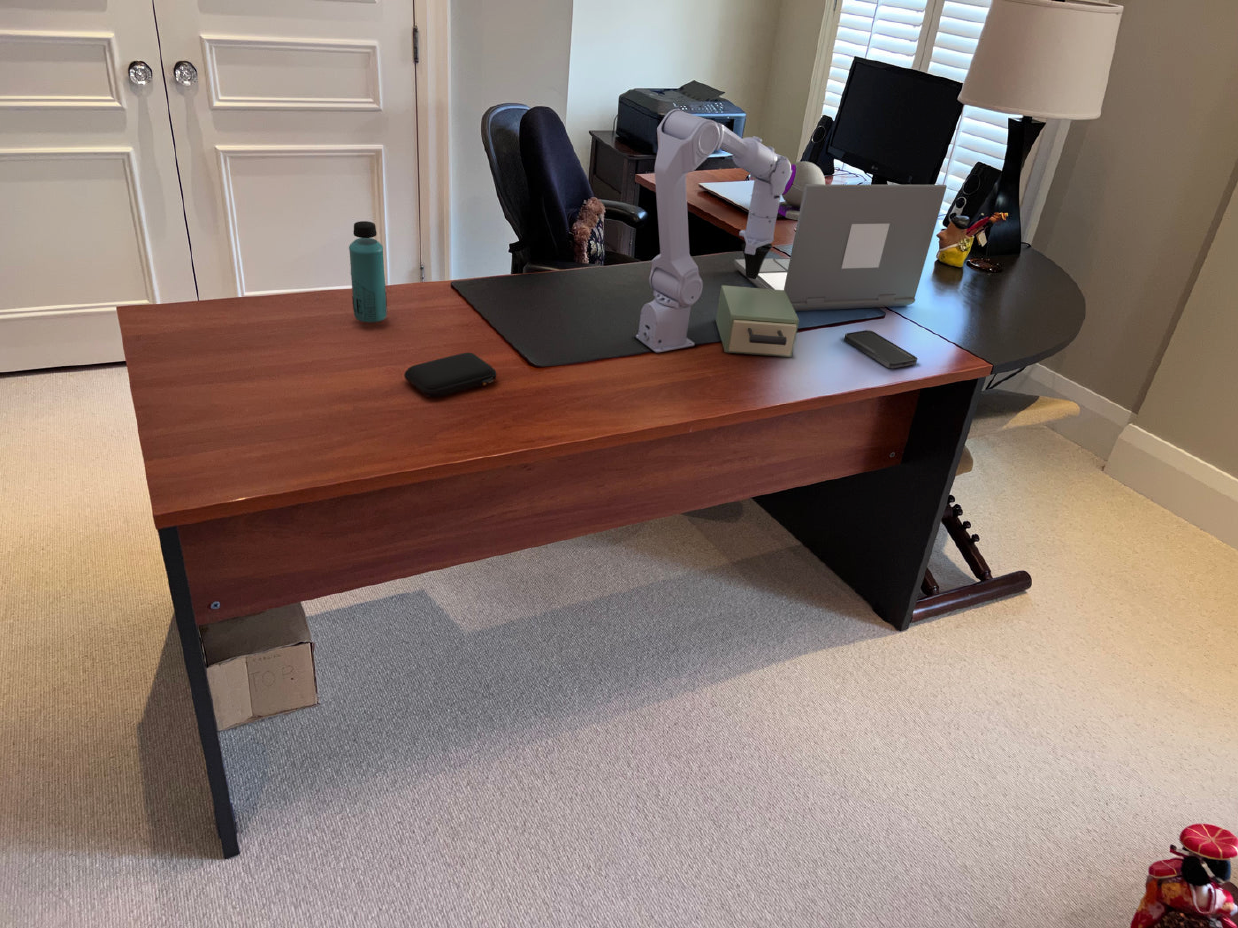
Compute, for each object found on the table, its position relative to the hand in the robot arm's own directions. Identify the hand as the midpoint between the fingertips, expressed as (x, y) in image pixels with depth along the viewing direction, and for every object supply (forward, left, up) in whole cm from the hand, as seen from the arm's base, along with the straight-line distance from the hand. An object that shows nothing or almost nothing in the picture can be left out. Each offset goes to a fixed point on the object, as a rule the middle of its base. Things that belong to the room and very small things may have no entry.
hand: (751, 277), depth 191 cm
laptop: (+31, +9, -10) cm, 34 cm away
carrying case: (-69, -4, -10) cm, 70 cm away
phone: (+18, -23, -10) cm, 31 cm away
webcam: (+66, +58, -10) cm, 88 cm away
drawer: (-6, -12, -9) cm, 16 cm away
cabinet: (-4, -8, -10) cm, 13 cm away
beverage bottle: (-74, +25, -10) cm, 79 cm away
